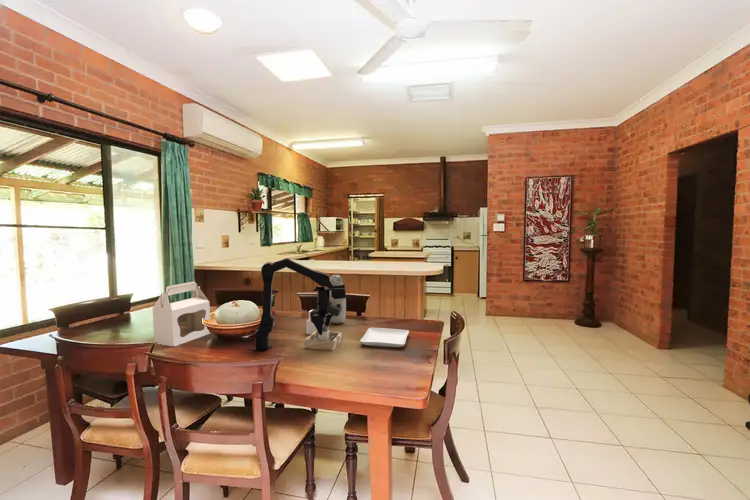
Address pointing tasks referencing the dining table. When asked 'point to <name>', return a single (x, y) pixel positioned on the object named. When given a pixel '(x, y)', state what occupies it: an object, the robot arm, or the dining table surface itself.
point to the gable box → (169, 313)
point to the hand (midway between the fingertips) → (324, 331)
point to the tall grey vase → (338, 300)
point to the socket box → (323, 341)
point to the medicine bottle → (309, 325)
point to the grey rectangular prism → (324, 333)
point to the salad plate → (385, 337)
